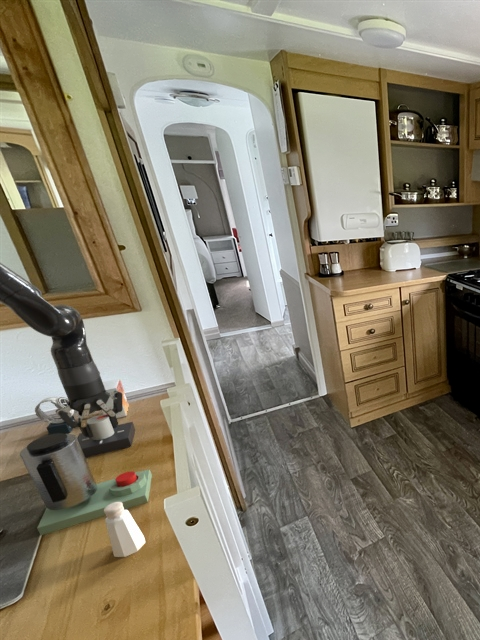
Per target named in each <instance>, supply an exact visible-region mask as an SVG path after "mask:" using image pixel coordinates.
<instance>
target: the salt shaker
mask: <svg viewBox="0 0 480 640" xmlns="http://www.w3.org/2000/svg"><path fill="white" fill-rule="evenodd" d="M104 512H105V513H106V515H105V516H106V518H104V520H105V525H106V530H107V534H108V538H109V542H110V545H111V550H112V554H113V558H126V557H128V556H131V555H133V554H135V553H137V552H138V551H140V549H141V548H142V547H143V546H144V545H145V544H146V543H147V542H146V539H145V536H144V534H143V532H142V531H141V529H140V527H139V526H138V524H137V523H136V521H135V519H134V518H133V516H132V514H131V512H130V511H129V510H128V509H124V507H123V504H122V502H114V503H111V504H109V505H108V506H106V507H105V509H104Z"/></svg>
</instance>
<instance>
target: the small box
mask: <svg viewBox="0 0 480 640" xmlns="http://www.w3.org/2000/svg"><path fill="white" fill-rule="evenodd" d="M102 382H103V385H104V387H105V390H106V391H107V392H108V393H111V392H114V391H119V392H121V393H122V411H121V412H118V413H117V414H116V418H117V419H119V418H124V417H127V416H128V412H129V409H128V407H129V408H130V405H129V401H128V398H127V396H126V392H125V389H124V386H123V384H122V381H121V379H113V380H107V381H102ZM106 405H107V406H108V407H109V408H110V409H111V410H112V409H113V399H112V398H111V397H109V399H108V401H107V403H106ZM127 411H128V412H127ZM100 412H101V415H106V413H105V412H104V411H103V410H100ZM107 415H108V414H107Z"/></svg>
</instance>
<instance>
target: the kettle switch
mask: <svg viewBox="0 0 480 640" xmlns="http://www.w3.org/2000/svg"><path fill="white" fill-rule="evenodd" d="M135 472H136V471H131V470H130V471H125V472H123V473H121V474H119V475H117V476H116V477H115V478H114V479H115V480H116V483H117V485H118V487H124V486H128V485H130V484H132V483H134V482H135V481H136V480H137V477H136V474H135Z"/></svg>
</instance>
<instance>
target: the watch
mask: <svg viewBox="0 0 480 640" xmlns="http://www.w3.org/2000/svg"><path fill="white" fill-rule="evenodd" d="M48 402H50V403H51V404H53V405H54V406H55V407H56V409H63V408H65V407H66V406H68V403H69V400H68V397H64V396H52V397H51V396H50V397H46V398H44V399H42V400H41V401H39V402H38V404H37V405H36V406H35V408H34V413H35V416H36V417H38V418H39V419H40V420H41V421H43V422H45V423H46V424H47V423H48V425H47V426H46V430H47V433H48V435H51V434H57V433H64V434H71V433H72V431H73V430H74V429H73V428H71V427H70V426H68V425H67V424H66V423H65V422H64V421H63V420H62V419H61V418H60V417H56V418H53V417H52V416H50V415H48V414H47V413H45V412H44V410H42V409H41V408H40V407H41V404H44V403H48ZM75 412H76V411H75V410H73V409H71V410H70V415H68V416H69V417H70V418H71V419H72V420H73V421H74V422H77V420H76V419H75V417H74V414H75Z"/></svg>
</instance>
